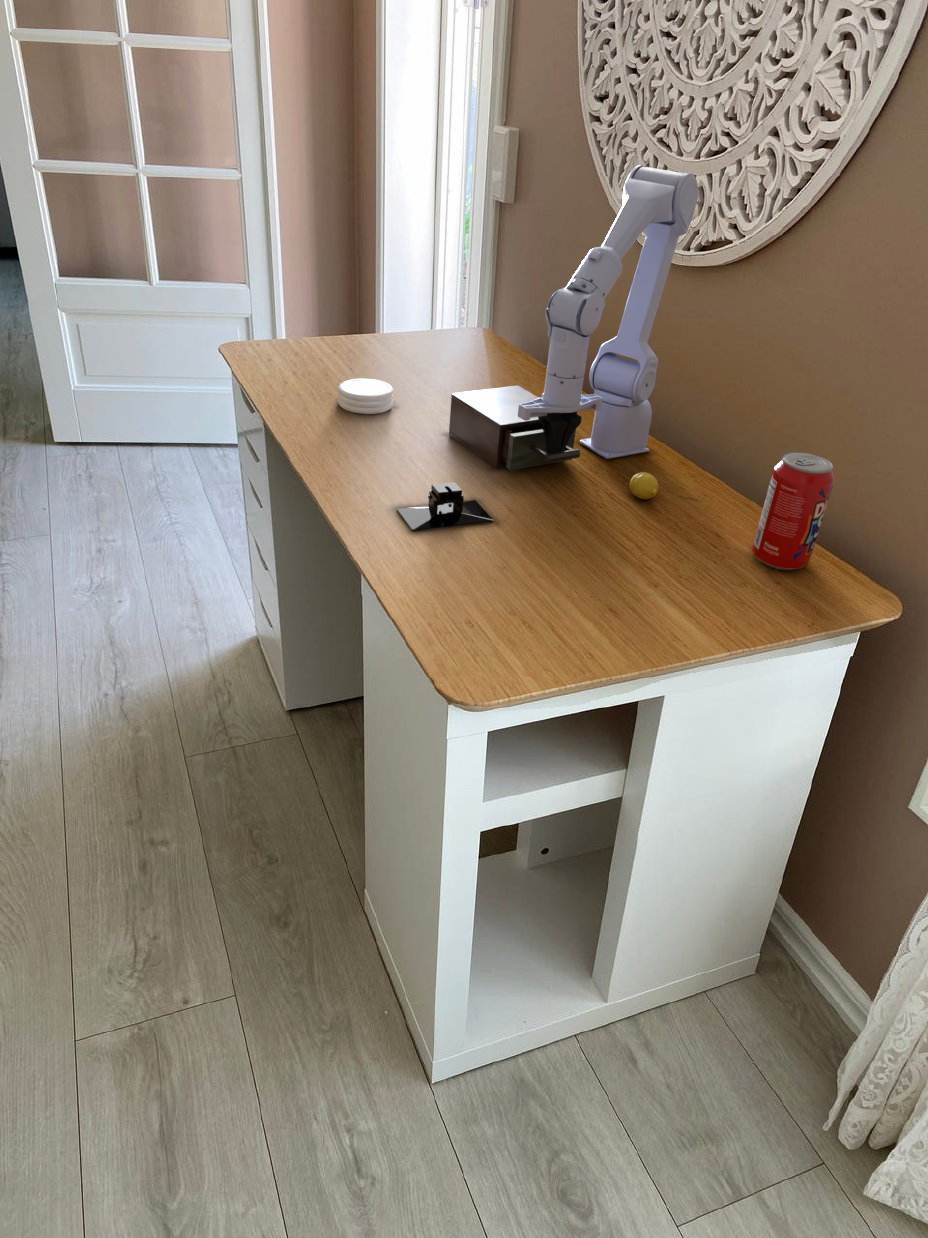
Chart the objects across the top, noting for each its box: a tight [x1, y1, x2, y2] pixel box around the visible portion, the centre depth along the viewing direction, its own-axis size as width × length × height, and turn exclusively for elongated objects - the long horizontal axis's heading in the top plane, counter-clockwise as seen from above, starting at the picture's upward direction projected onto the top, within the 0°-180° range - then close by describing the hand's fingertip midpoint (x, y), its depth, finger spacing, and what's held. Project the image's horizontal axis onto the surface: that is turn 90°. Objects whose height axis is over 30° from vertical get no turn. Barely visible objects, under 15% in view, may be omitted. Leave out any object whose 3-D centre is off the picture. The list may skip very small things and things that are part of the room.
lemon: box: [629, 471, 659, 501], centre depth 146 cm, size 6×4×4 cm
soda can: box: [752, 451, 835, 571], centre depth 128 cm, size 8×8×15 cm
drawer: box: [500, 423, 581, 471], centre depth 154 cm, size 20×12×6 cm, turn 31°
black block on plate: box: [396, 481, 494, 533], centre depth 135 cm, size 12×7×5 cm, turn 112°
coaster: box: [337, 378, 394, 415], centre depth 171 cm, size 10×10×4 cm
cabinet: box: [448, 384, 540, 469], centre depth 159 cm, size 15×13×7 cm
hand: (553, 457), depth 149 cm, fingers closed
